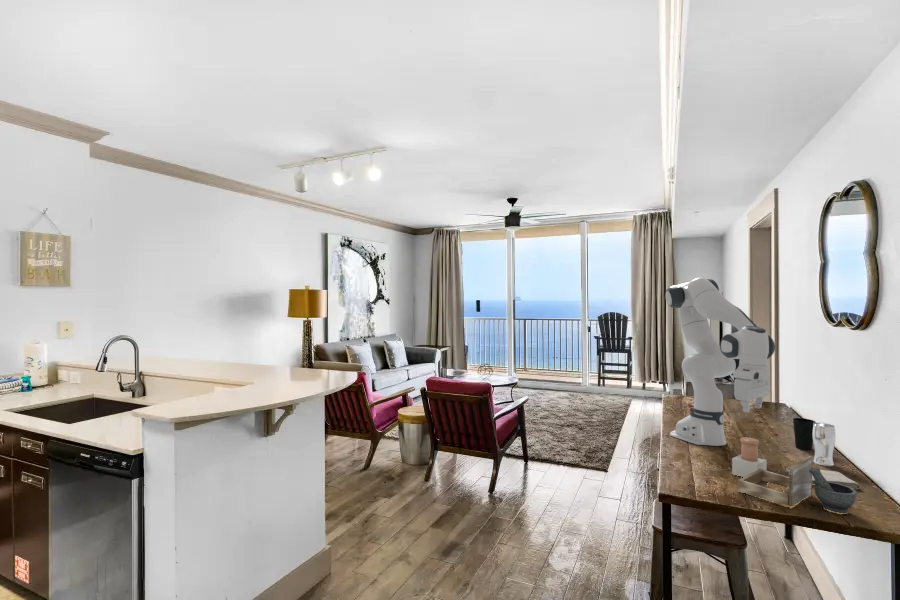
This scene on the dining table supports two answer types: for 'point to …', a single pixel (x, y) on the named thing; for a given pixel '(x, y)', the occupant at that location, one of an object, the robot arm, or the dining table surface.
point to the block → (747, 466)
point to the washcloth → (835, 478)
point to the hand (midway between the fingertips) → (752, 409)
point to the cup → (803, 433)
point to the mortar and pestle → (833, 493)
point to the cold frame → (780, 483)
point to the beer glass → (823, 443)
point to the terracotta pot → (749, 449)
